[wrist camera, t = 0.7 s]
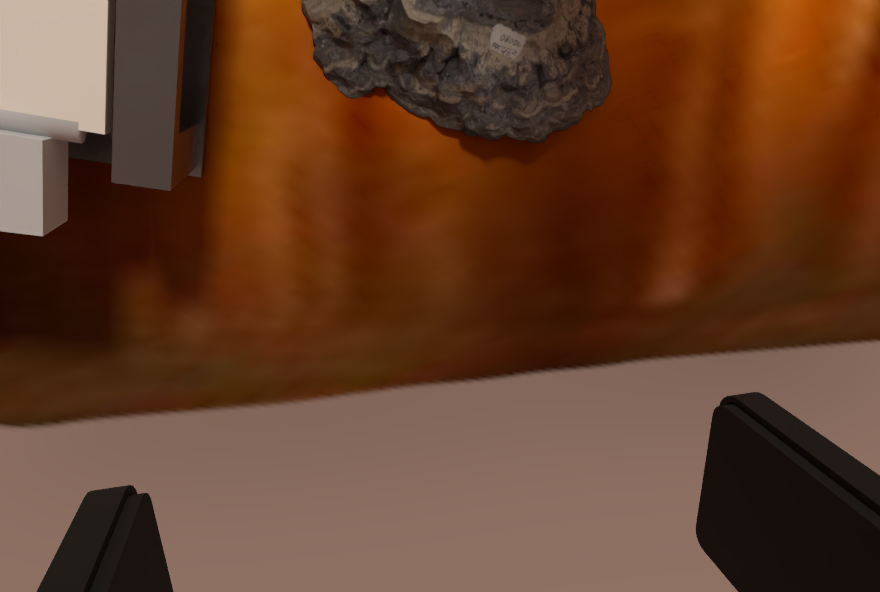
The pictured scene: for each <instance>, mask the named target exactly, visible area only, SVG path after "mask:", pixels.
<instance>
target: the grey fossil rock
mask: <svg viewBox="0 0 880 592" xmlns="http://www.w3.org/2000/svg"><path fill="white" fill-rule="evenodd" d="M301 4H302V11H303V14H304V15H305V17H306V18H307V19H308V20H309V22H310V24H311V26H312V28H313V40H314V43H315V51H314V53H313V58H314V59H315V61H316V63H317V64H318V65H320V66H321V67H322V68H323V72H324V75H325V77H326V78H327V79H328V80H329V81H331V82H332V83H333V84H335V85H336V86H337V88H338V90H339V91H340V92H341V93H344V95H345V96H346V97H349V98H351V99H354V98H358V97H363V96H364V95H366V94H368V93H370V92H374V91H373V88H374V87H380V88H384V89H385V91H386V93H387V94H388V95H389V96H390V97H391V98H392V99H393V100H395V101H396V103H397V104H398V105H400V106H401V107H402V108H404V109H405V110H407V111H408V112H411V113H414V114H415V115H417V116H420V117H428V116H429V117H430V118H431V119H432V120H433V121H434V122H435V124H437V125H438V126H440V127H444V128H448V129H452V130H461V131H463V132H464V133H465V134H466V135H467V136H474V137H475V136H479V137H481V138H485V139H487V140H492V139H495V140H498V139H500V138H501V137H502V136H508V137H510V138H513V139H516V140H521V141H522V140H528V141H529V142H531V143H538V142H544V141H545V140H546V138H547V137H548V135H549V133H551V132H552V131H564V130H566V129H568V128H569V127H570V126H571V125H574V124H577V123H578V122H579V121H580V119H581V118H582V115H583V113H584V112H585V111H586V110H589V111H591V112H592V110H593V107H598V106H600V105H601V104H602V103H603V102H604V100H605V98H606V97H607V95H608V94H609V92H610V88H611V83H612V82H611V76H610V70H609V62H608V61H609V58H608V51H607V49H606V34H605V31H604V28H603V24H602V23H601V22H600V21H599V20H598V19H597V17H596V2H595V0H301Z"/></svg>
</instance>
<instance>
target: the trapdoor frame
mask: <svg viewBox="0 0 880 592" xmlns="http://www.w3.org/2000/svg"><path fill="white" fill-rule="evenodd" d="M215 7H216V0H115V21H114V58H113V95H112V132H111V133H108V134H105V135H104V134H98V133H92V132H87V133H86V138H85V141H84V142H83V143H82V144H81V143H75V142H69V141H68V157H70V158H76V159H83V160H89V161H96V162H102V163H109V164H112V175H111V183H118V184H125V185H132V186H139V187H146V188H153V189H160V190H166V191H171V190H172V189H173V188H175V187H176V186H177V185H178V184H179V183H180V182H181V181H182V180H183V179H184V178H185V177H186V176H194V177H202V176H203V170H204V157H205V143H206V129H207V116H208V102H209V89H210V75H211V61H212V48H213V34H214V20H215Z"/></svg>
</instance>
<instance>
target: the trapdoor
mask: <svg viewBox="0 0 880 592" xmlns="http://www.w3.org/2000/svg"><path fill="white" fill-rule="evenodd" d="M114 21H115V0H0V231H2V232H10V233H19V234H27V235H35V236H44V235H46V234H48V233H49V232H51V231H52V230H54V229H55V228H57V227H58V226H60V225H62V224H63V223H65V222H66V221H68V141H69V142H75V143H81V144H82V143H83V142H84V141H85V138H86V133H87V132H92V133H98V134H104V135H105V134H108V133H111V132H112V95H113V58H114Z"/></svg>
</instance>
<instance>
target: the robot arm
mask: <svg viewBox="0 0 880 592" xmlns="http://www.w3.org/2000/svg"><path fill="white" fill-rule="evenodd" d="M696 535H697V538H698V541H699V544H700V546H701V547H702V549H703V550H704V552H705V553H706V554H707V555H708V556H709V558H710V559H711V560H712V561H713V562H714V563H715V565H716V566H717V567H718V568H719V569H720V571H721V572H722V573H723V574H724V575H725V577H726V578H727V579H728V580H729V581H730V582H731V584H732V585H733V586H734V587H735V588H736V589H737V591H738V592H880V475H878V474H877V473H875V472H874V471H872V470H871V469H870V468H868V467H867V466H865V465H864V464H862V463H861V462H859V461H858V460H857V459H855V458H854V457H852V456H851V455H849V454H848V453H847V452H845V451H844V450H842V449H841V448H839V447H838V446H837V445H835V444H834V443H832V442H831V441H829V440H828V439H827V438H825V437H824V436H822V435H821V434H819V433H818V432H816V431H815V430H814V429H812V428H811V427H809V426H808V425H806V424H805V423H804V422H802V421H801V420H799V419H798V418H796V417H795V416H793V415H792V414H791V413H789V412H788V411H786V410H785V409H784V408H782V407H780V406H779V405H778V404H776V403H775V402H774V401H772V400H771V399H769V398H768V397H766V396H765V395H763V394H761V393H758V392H753V393H746V394H739V395H733V396H727V397H725V398H724V399H723V400H722V401H721V403H720V406H718V407H716V408H715V410H714V412H713V416H712V423H711V429H710V436H709V443H708V449H707V456H706V463H705V469H704V476H703V483H702V489H701V496H700V503H699V509H698V516H697V523H696ZM37 592H173V588H172V584H171V580H170V576H169V572H168V567H167V564H166V559H165V555H164V551H163V547H162V543H161V539H160V534H159V530H158V526H157V522H156V518H155V514H154V509H153V505H152V501H151V498H150V496H149V494H147V493H142V494H137V492H136V489H135V488H134V486H131V485H128V486H121V487H114V488H109V489H101V490H94V491H90V492H88V493H87V494H86V496H85V497H84V499H83V501H82V503H81V505H80V507H79V509H78V511H77V513H76V515H75V517H74V519H73V521H72V523H71V525H70V527H69V529H68V531H67V533H66V535H65V537H64V539H63V541H62V543H61V545H60V547H59V549H58V551H57V553H56V555H55V557H54V559H53V561H52V562H51V564H50V567H49V568H48V570H47V572H46V575H45V577H44V578H43V580H42V582H41V584H40V586H39V588H38V590H37Z"/></svg>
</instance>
